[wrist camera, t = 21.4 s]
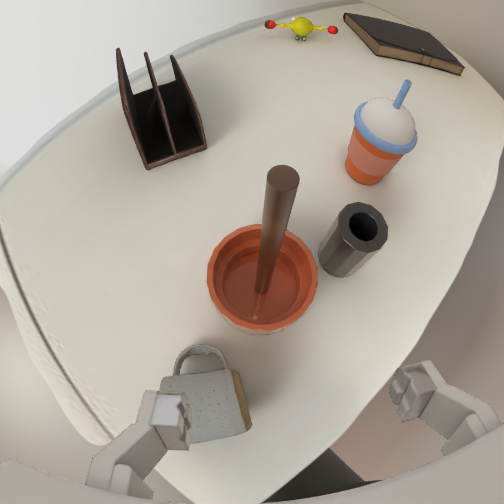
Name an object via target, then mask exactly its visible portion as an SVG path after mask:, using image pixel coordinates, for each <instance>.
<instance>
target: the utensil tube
mask: <svg viewBox="0 0 504 504" xmlns="http://www.w3.org/2000/svg"><path fill="white" fill-rule="evenodd" d="M387 237H388V226H387V224H386V222H385V220H384V218H383V216H382V214H381V213H380V212H379V211H377V210H376V209H375V208H374V207H373V206H371V205H368V204H364V203H361V202H356V203H352V204H348V205H346V206H345V207H344V208H343V210H342V211H341V212H340V213H339V215H338V216H337V218H336V220H335V221H334V223H333V225H332V226H331V228H330V230H329V232H328V233H327V235H326V237H325V238H324V240H323V242H322V243H321V245H320V249H319V261H320V263H321V265H322V267H323V268H324V270H325V271H326V272H328V273H329V274H331V275H333V276H336V277H346V276H349V275H351V274H353V273H354V272H356V271H357V270H358V269H359V268H360V267H361V266H362V265H363V264H365V263H366V262H367V261H368V260H369V259H370V258H371V257H372V256H373V255H374V254H375V253H377V252H378V251H379V250H380V249H381V248H382V246H383V245H384V243H385V242H386V240H387Z"/></svg>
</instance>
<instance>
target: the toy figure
mask: <svg viewBox="0 0 504 504" xmlns="http://www.w3.org/2000/svg"><path fill="white" fill-rule="evenodd" d="M292 21H293V22H292V23H290V24H284V23H282V24H276V23H275V22H274V21H270V20H268V21H266V22H265V27H266V28H268V29H273V28H275V26H281V27H288V28H292V30H293V32H294V33H295V34H297V35H296V40H299V39H298V38H299V36H303V37H302V40H304V41H305V36H306V35H309V34H310V33H311V32H312V30H320V31H322V30H328V32H329V33H331V34H337V33H338V29H337V27H335V26H329V27H328V28H323V27H318V26H314V25H313V24H312V22H311V20H310V19H307V18H304V17H299V18H292Z"/></svg>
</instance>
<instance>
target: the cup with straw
mask: <svg viewBox="0 0 504 504" xmlns="http://www.w3.org/2000/svg"><path fill="white" fill-rule="evenodd" d="M411 84H412V83H411V81H409V80H407V79H406V80H405V81H404V83H403V85H402V87H401V90H400V92H399V94H398V96H397V98H396V100H393V99H390V98H375V99H373V100H370V101H368V102H364V103H362V104H361V105H359V106H358V108H357V109H356V111H355V113H354V123H355V126H354V129H353V133H352V136H351V140H350V144H349V147H348V155H347V159H346V169H347V172H348V173H349V175H350V176H351V177H352V178H353V179H354V180H356V181H357V182H359V183H361V184H365V185H373V184H376V183H378V182H379V181H380V180H381V179H382V177H383V176H384V175H385V174H387V173H388V172H389V171H390V170H391V169H392V168H393V167H394V166H395V164H396V163H397V162H398V161H399V160H400V159H401V158H402V156H403V155H404V154H405V153H408V152H410V151H411V150H412V149H413V148H414V147H415V145H416V142H417V132H416V129H415V123H414V120H413V117H412V115H411V114H410V112H409V111H408V110H407V108H406V107H404V106H403V105H402V102H403V100H404V98H405V96H406V94H407V92H408V90H409V88H410V86H411Z"/></svg>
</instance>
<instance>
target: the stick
mask: <svg viewBox="0 0 504 504" xmlns="http://www.w3.org/2000/svg"><path fill="white" fill-rule="evenodd" d="M299 181H300V178H299V175H298V173H297V172H296V170H295V169H293V168H292V167H290V166H287V165H277V166H275V167H273V168H271V169H270V170H269V172H268V174H267V182H266V191H265V200H264V210H263V219H262V228H261V237H260V246H259V255H258V264H257V273H256V282H255V290H256V292H257V293H259V294H265V293H266V292H267V291H268V289H269V285H270V282H271V279H272V275H273V272H274V269H275V265H276V262H277V259H278V255H279V252H280V248H281V245H282V241H283V238H284V235H285V231H286V228H287V224H288V221H289V217H290V214H291V210H292V207H293V203H294V199H295V196H296V192H297V189H298V185H299Z"/></svg>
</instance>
